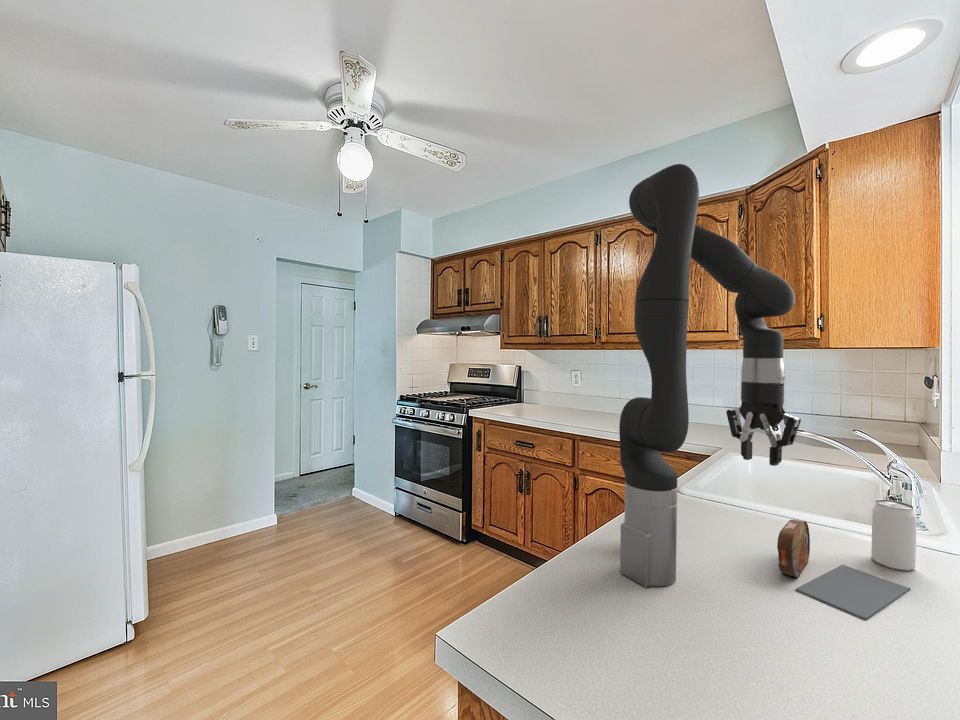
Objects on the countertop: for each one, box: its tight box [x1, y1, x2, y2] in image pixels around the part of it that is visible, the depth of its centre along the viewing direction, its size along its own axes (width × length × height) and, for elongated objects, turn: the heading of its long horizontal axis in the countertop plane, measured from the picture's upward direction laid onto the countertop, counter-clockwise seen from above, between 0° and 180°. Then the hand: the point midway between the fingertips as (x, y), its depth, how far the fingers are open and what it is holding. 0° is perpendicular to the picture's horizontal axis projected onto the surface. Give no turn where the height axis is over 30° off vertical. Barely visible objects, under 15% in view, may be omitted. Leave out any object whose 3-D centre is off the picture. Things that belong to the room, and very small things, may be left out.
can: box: [870, 498, 918, 572], centre depth 89 cm, size 6×6×12 cm
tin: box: [776, 519, 811, 578], centre depth 87 cm, size 15×3×8 cm, turn 134°
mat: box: [795, 564, 911, 621], centre depth 79 cm, size 18×10×1 cm, turn 120°
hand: (760, 461), depth 92 cm, fingers open, 4 cm apart
